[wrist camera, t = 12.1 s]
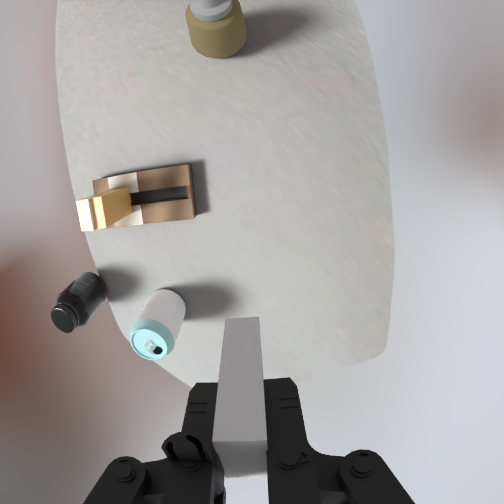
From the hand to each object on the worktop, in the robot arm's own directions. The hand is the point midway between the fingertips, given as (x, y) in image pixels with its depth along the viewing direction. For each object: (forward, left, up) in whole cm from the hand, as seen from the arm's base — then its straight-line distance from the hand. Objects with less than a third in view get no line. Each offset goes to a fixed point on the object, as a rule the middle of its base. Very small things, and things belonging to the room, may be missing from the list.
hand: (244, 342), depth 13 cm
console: (+9, -14, -32) cm, 36 cm away
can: (+22, +1, -33) cm, 39 cm away
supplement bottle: (+30, -12, -33) cm, 46 cm away
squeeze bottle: (-17, -21, -33) cm, 42 cm away
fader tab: (+12, -16, -31) cm, 37 cm away
